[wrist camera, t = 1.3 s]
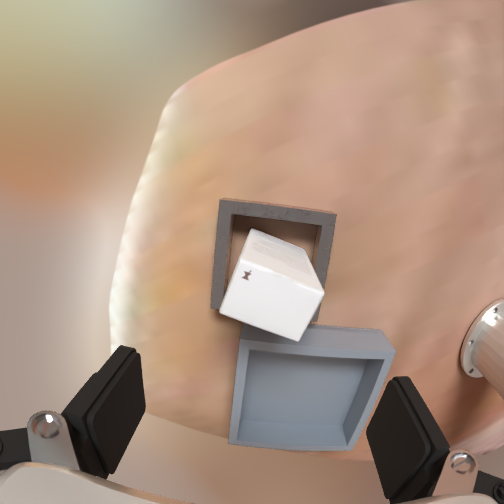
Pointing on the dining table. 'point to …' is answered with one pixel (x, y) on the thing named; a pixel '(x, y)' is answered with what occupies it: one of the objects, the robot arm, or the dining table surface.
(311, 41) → the dining table surface
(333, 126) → the dining table surface
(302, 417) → the bin
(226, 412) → the dining table surface
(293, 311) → the skincare box
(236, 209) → the collar
